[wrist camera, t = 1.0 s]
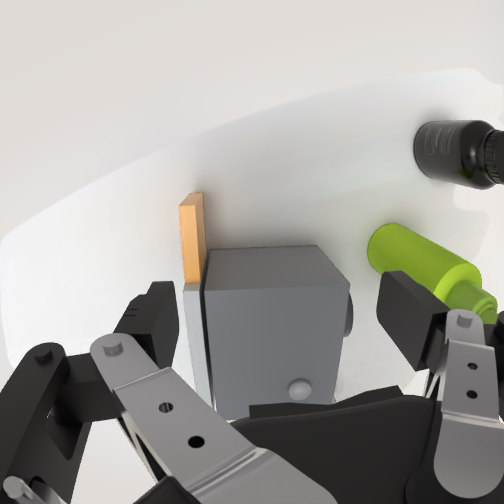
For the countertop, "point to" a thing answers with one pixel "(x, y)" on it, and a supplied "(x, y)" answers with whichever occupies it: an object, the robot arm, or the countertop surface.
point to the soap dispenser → (432, 269)
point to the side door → (196, 292)
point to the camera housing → (274, 326)
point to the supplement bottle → (461, 153)
